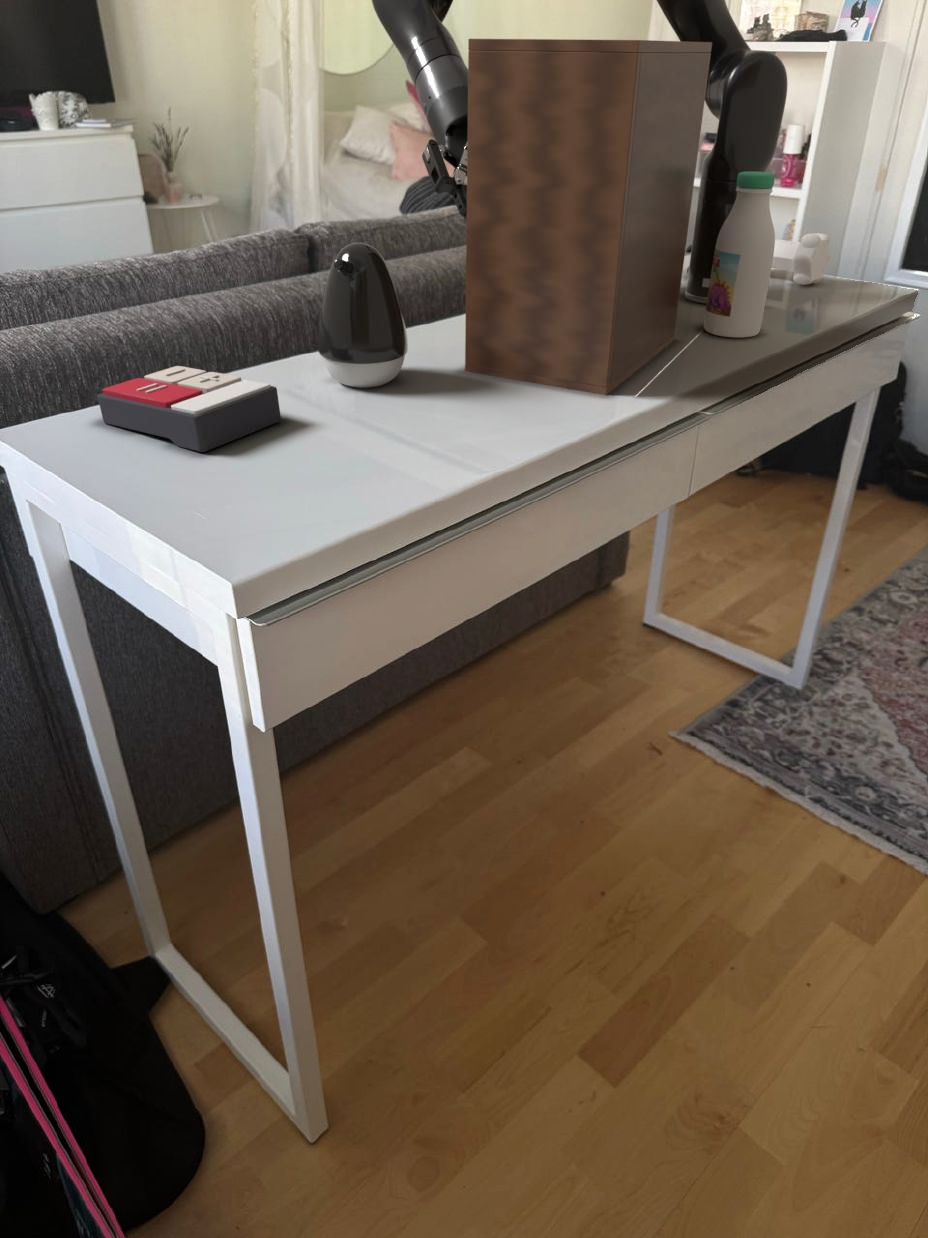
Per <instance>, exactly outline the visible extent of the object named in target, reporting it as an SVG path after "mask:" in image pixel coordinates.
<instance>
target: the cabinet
mask: <svg viewBox="0 0 928 1238" xmlns="http://www.w3.org/2000/svg"><path fill="white" fill-rule="evenodd" d="M467 43H468V47H467V48H468V51H467V53H468V55H467V59H468V62H467V65H468V66H467V68H468V142H467V177H466V185H467V221H466V238H465V241H466V246H465V248H466V249H465V251H466V254H465V255H466V256H465V332H464V333H465V334H464V335H465V336H464V337H465V344H464V345H465V346H464V347H465V348H464V372H465V373H471V374H476V375H477V374H478V375H483V376H489V377H495V378H502V379H507V380H511V381H517V382H518V381H519V382H524V383H530V384H536V385H542V386H548V387H553V388H560V389H566V390H572V391H578V392H585V393H590V394H596V395H600V396H601V395H602V396H607V395H608V394H609V393H611V392H612V391H613V390H615V389H616V388H617V387H619V386H620V385H621V384H622V383H623V382H625V381H626V380H627V379H628V378H629V377H631V376H632V375H633V374H634V373H636V372H637V371H638V370H640V369H641V368H642V367H643V366H645V365H646V364H647V363H648V362H649V361H651V360H652V359H653V358H654V357H655V356H657V355H659V354H660V353H661V352H662V351H663V350H664V349H666V348H667V347H668V346H669V345H671V344H672V343H673V342H674V340H675V332H676V325H677V316H678V309H679V302H680V294H681V286H682V279H683V272H684V270H683V269H684V263H685V255H686V249H687V239H688V233H689V224H690V216H691V210H692V201H693V194H694V193H693V192H694V187H695V179H696V172H697V162H698V155H699V147H700V141H701V132H702V125H703V124H702V123H703V116H704V108H705V103H706V102H705V94H706V86H707V79H708V71H709V63H710V55H711V48H712V42H683V41H680V40H679V41H678V40H654V39H653V40H651V39H650V40H649V39H565V38H564V39H561V38H560V39H556V38H554V39H553V38H548V39H547V38H546V39H545V38H468V42H467Z"/></svg>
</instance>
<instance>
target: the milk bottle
mask: <svg viewBox="0 0 928 1238" xmlns="http://www.w3.org/2000/svg"><path fill="white" fill-rule="evenodd" d="M775 180H776V176H775V174H774V173H772V172H768V171H767V172H741V173H739V174H738V178H737V188H736V191H737V197H736V200H735V203H734V205H733V208H732V210H731V212H730V214H729V215H728V217H727V219H726V221H725V222H724V224H723V226H722V228H721V230H720V232H719V235H718V238H717V242H716V247H715V252H714V258H713V264H712V271H711V277H710V284H709V291H708V297H707V304H705V312H704V317H703V318H704V319H703V329H704V331H706V332H707V333H709V334H712V335H715V336H720V337H724V338H725V337H726V338H751V337H754V336H757V335H758V334H759V333H760V331H761V328H762V323H763V318H764V313H765V306H766V301H767V297H768V291H769V290H768V289H769V284H770V279H771V274H772V273H771V272H772V269H773V268H772V262H773V255H774V247H775V239H776V233H775V227H774V223H773V220H772V219H773V218H772V214H771V206H770V196H771V194H772V193H773V188H774V185H775Z"/></svg>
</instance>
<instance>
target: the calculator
mask: <svg viewBox="0 0 928 1238" xmlns="http://www.w3.org/2000/svg"><path fill="white" fill-rule="evenodd" d="M97 400H98V404H99V409H100V412H101V417H102V421H103V423H104V424H107V425H111V426H116V427H119V428H123V429H128V430H132V431H136V432H141V433H145V434H149V435H153V436H157V437H161V438H164V439H169V440H170V441H171V442H172V443H173V444H174V445H175V446H177V447H180V448H184V449H188V450H191V451H196V452H200V453H204V452H208V451H210V450H213V449H216V448H217V447H220V446H222V445H225V444H227V443H230V442H233V441H235V440H237V439H241V438H243V437H245V436H247V435H249V434H252V433H254V432H258V431H259V430H262V429H264V428H267V427H269V426H272V425H275V424H277V423H279V422H281V421H282V417H281V416H282V415H281V409H280V402H279V401H280V400H279V396H278V388H277V387H276V386H273V385H271V384H270V383H267V382H262V381H255V380H250V379H243V380H242V377H241V376H238V375H232V374H226V373H222V372H216V371H208V372H207V371H206V370H204V369H198V368H194V367H188V366H181V365H174V366H172V367H169V368H168V367H167V368H165V369H162V370H159V371H155V372H153V373H149V374H146V375H144V377H143V378H142V377H137V378H134V379H130V380H127V381H124V382H119V383H117V384H113V385H109V386H107V387H104V388H102V393H101V392H100V393H98V395H97Z"/></svg>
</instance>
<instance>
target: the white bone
mask: <svg viewBox="0 0 928 1238" xmlns="http://www.w3.org/2000/svg"><path fill="white" fill-rule="evenodd" d="M830 242H831V237H830V236H829V235H827V233H826V234H825V233H822V232H818V233H817V232H816V233H807V234H805V235H803V236H802V237H801V239H800V241H794V240H787V239H780V238H779V239H778V238H775V247H774V255H773V262H772V268H771V269H775V270H782V271H789V272H792V273H793V277H792V279H793V281H794V283H796V284H799V285H805V286H806V285H810V284H817V283H819V282H820V281H821V280H822V277H823V274H824V272H825V269H826V266H827V264H828V263H829V261H830V260H831V255H830Z"/></svg>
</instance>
